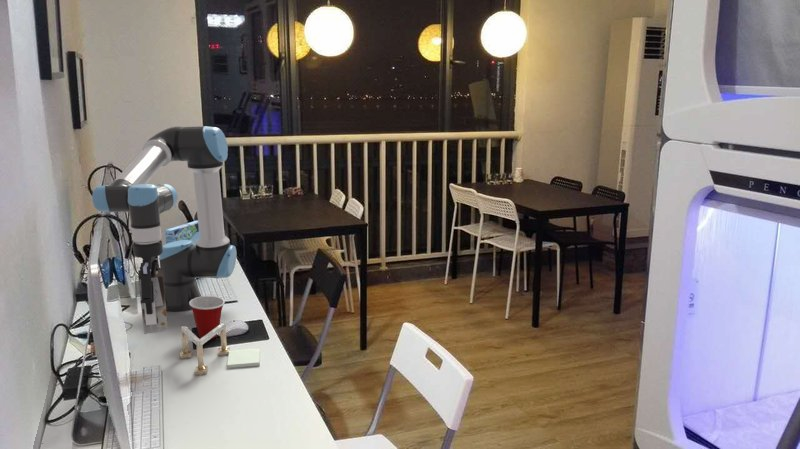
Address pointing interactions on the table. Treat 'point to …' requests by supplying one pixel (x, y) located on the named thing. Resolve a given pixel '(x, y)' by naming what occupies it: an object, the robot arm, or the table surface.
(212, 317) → the plastic cup
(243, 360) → the end plate
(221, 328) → the three-legged tripod stand
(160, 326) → the coffee box
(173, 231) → the gum box
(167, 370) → the table surface
